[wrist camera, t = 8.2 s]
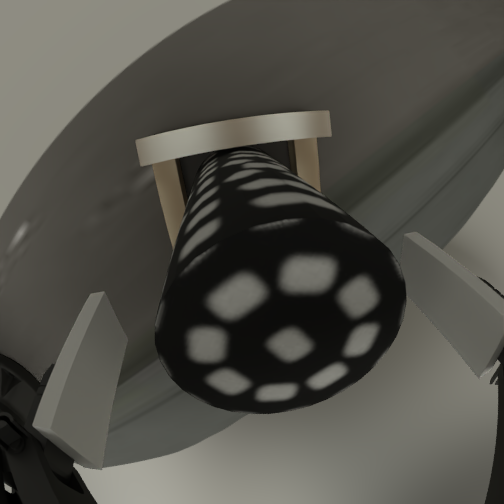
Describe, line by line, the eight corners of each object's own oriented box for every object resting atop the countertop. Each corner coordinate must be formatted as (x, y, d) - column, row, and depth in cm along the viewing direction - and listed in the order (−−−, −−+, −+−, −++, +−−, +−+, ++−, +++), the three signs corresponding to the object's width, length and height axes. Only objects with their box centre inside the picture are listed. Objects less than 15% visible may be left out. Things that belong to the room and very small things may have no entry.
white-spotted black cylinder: (298, 193, 27) (427, 331, 9) (233, 244, 29) (264, 431, 11) (245, 126, 24) (334, 148, 6) (176, 184, 25) (102, 337, 8)
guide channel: (202, 326, 33) (201, 363, 28) (152, 135, 23) (135, 140, 18) (316, 304, 34) (333, 337, 28) (304, 111, 24) (329, 110, 18)
